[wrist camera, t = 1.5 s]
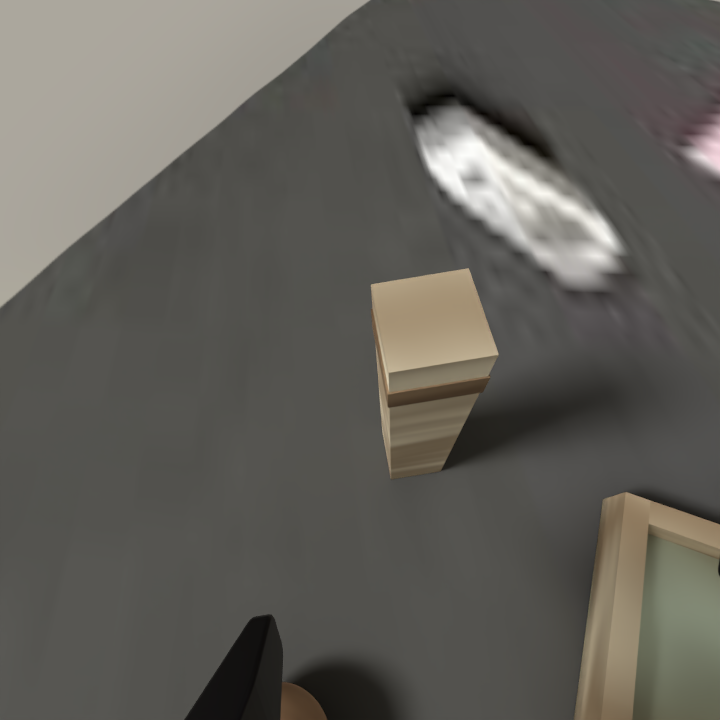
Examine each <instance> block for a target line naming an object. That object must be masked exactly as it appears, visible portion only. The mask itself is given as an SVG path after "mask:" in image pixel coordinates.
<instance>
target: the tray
mask: <svg viewBox="0 0 720 720" xmlns="http://www.w3.org/2000/svg"><path fill="white" fill-rule="evenodd" d="M719 558H720V524H717V523H714V522H711V521H708V520H705V519H702V518H700V517H697V516H694V515H691V514H688V513H685V512H682V511H679V510H676V509H673V508H671V507H668V506H665V505H662V504H659V503H656V502H653V501H650V500H647V499H645V498H642V497H639V496H636V495H633V494H630V493H627V492H624V493H621V494H618V495H615V496H612V497H609V498H606V499H603V502H602V510H601V517H600V525H599V532H598V540H597V548H596V555H595V563H594V570H593V578H592V586H591V593H590V601H589V608H588V616H587V624H586V631H585V639H584V646H583V654H582V661H581V669H580V677H579V684H578V692H577V699H576V707H575V715H574V720H720V576H719V574H718V564H719Z"/></svg>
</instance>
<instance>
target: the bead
mask: <svg viewBox="0 0 720 720" xmlns="http://www.w3.org/2000/svg"><path fill="white" fill-rule="evenodd" d="M280 720H327V718H326V715H325V713H324V711H323V709H322V708H321V706H320V705H319V703H318V702H317V700H316V699H315V698H314V697H313V696H312V695H311V694H310V693H309V692H307V691H306V690H305V689H303V688H301V687H299V686H297V685H295V684H291V683H286V682H282V694H281V718H280Z"/></svg>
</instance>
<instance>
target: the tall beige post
mask: <svg viewBox="0 0 720 720" xmlns="http://www.w3.org/2000/svg"><path fill="white" fill-rule="evenodd" d="M371 291H372V304H373V309H371V315H372V327H373V332H374V338H375V343H376V355H377V368H378V381H379V394H380V407H381V420H382V432H383V437H384V443H385V449H386V454H387V460H388V465H389V471H390V477H391V479H397V478H403V477H409V476H415V475H421V474H427V473H433V472H439V471H441V469H442V467H443V465H444V463H445V461H446V459H447V457H448V455H449V453H450V451H451V449H452V447H453V445H454V443H455V441H456V439H457V437H458V435H459V433H460V431H461V429H462V427H463V425H464V423H465V421H466V419H467V417H468V415H469V413H470V411H471V409H472V407H473V405H474V403H475V401H476V399H477V397H478V395H479V393H482V392H483V391H484V389H485V387H486V385H487V383H488V381H489V379H490V375H489V373H490V371H491V369H492V367H493V365H494V363H495V361H496V359H497V357H498V355H499V354H498V351H497V348H496V346H495V343H494V340H493V337H492V334H491V331H490V328H489V325H488V323H487V320H486V317H485V314H484V311H483V308H482V305H481V302H480V300H479V297H478V294H477V291H476V288H475V285H474V282H473V279H472V276H471V274H470V271H469V268H468V269H462V270H456V271H450V272H444V273H438V274H432V275H426V276H420V277H414V278H408V279H401V280H395V281H389V282H383V283H377V284H371Z"/></svg>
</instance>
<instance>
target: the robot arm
mask: <svg viewBox="0 0 720 720" xmlns="http://www.w3.org/2000/svg"><path fill="white" fill-rule="evenodd" d="M718 574H719V576H720V558H719V564H718ZM282 669H283V648H282V642H281V639H280V636H279V632H278V629H277V625H276V622H275V619H274V617H273V616H272V615H270V614H268V615H262V616H256V617H253V618H252V619H250V621H249V622H248V623H247V625H246V626H245V628H244V629H243V631H242V633H241V634H240V636H239V637H238V639H237V640H236V642H235V643H234V645H233V646H232V648H231V649H230V651H229V652H228V654H227V655H226V657H225V659H224V660H223V662H222V663H221V665H220V666H219V668H218V669H217V671H216V672H215V674H214V675H213V677H212V678H211V680H210V681H209V683H208V685H207V686H206V688H205V689H204V691H203V692H202V694H201V695H200V697H199V698H198V700H197V701H196V703H195V704H194V706H193V707H192V709H191V710H190V712H189V714H188V715H187V717H186V718H185V720H280V718H281V694H282Z"/></svg>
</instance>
